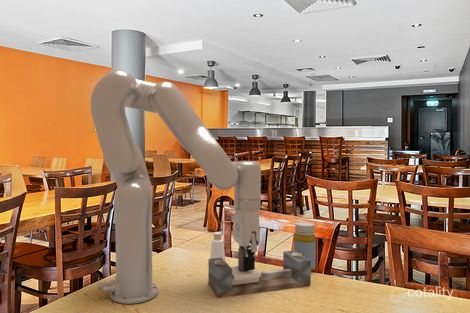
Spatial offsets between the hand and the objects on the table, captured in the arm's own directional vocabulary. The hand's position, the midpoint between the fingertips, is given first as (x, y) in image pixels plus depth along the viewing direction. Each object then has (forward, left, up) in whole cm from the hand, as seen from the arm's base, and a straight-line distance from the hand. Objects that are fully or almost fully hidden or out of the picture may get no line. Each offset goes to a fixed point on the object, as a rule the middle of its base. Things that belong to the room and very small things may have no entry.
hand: (246, 267), depth 109 cm
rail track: (+4, 0, -6) cm, 7 cm away
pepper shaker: (-3, +20, -6) cm, 21 cm away
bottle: (+23, +8, -6) cm, 25 cm away
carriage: (-1, 0, -4) cm, 4 cm away
